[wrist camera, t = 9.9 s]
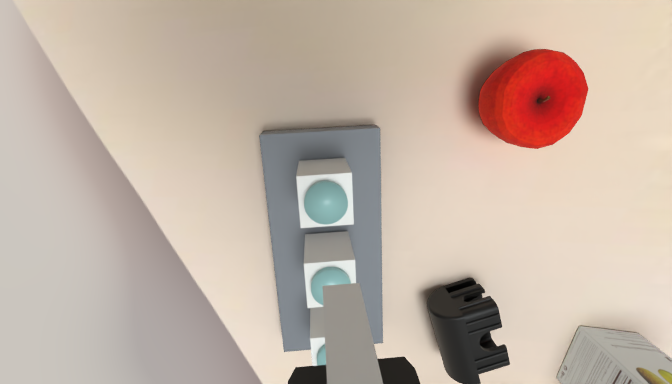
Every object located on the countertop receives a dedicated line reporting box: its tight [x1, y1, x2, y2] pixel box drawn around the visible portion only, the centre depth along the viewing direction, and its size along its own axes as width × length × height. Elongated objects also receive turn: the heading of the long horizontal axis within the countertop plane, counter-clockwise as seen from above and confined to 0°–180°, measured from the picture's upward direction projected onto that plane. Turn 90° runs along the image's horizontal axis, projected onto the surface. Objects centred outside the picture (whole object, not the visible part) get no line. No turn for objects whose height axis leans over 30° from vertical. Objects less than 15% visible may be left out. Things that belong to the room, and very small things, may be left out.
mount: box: [259, 125, 383, 352], centre depth 37 cm, size 26×12×8 cm, turn 3°
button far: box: [310, 307, 326, 366], centre depth 36 cm, size 5×5×7 cm
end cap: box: [427, 278, 510, 384], centre depth 42 cm, size 10×7×7 cm
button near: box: [296, 158, 354, 228], centre depth 32 cm, size 5×5×7 cm
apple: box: [479, 49, 588, 149], centre depth 34 cm, size 9×9×8 cm
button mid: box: [304, 231, 356, 308], centre depth 34 cm, size 5×5×7 cm
